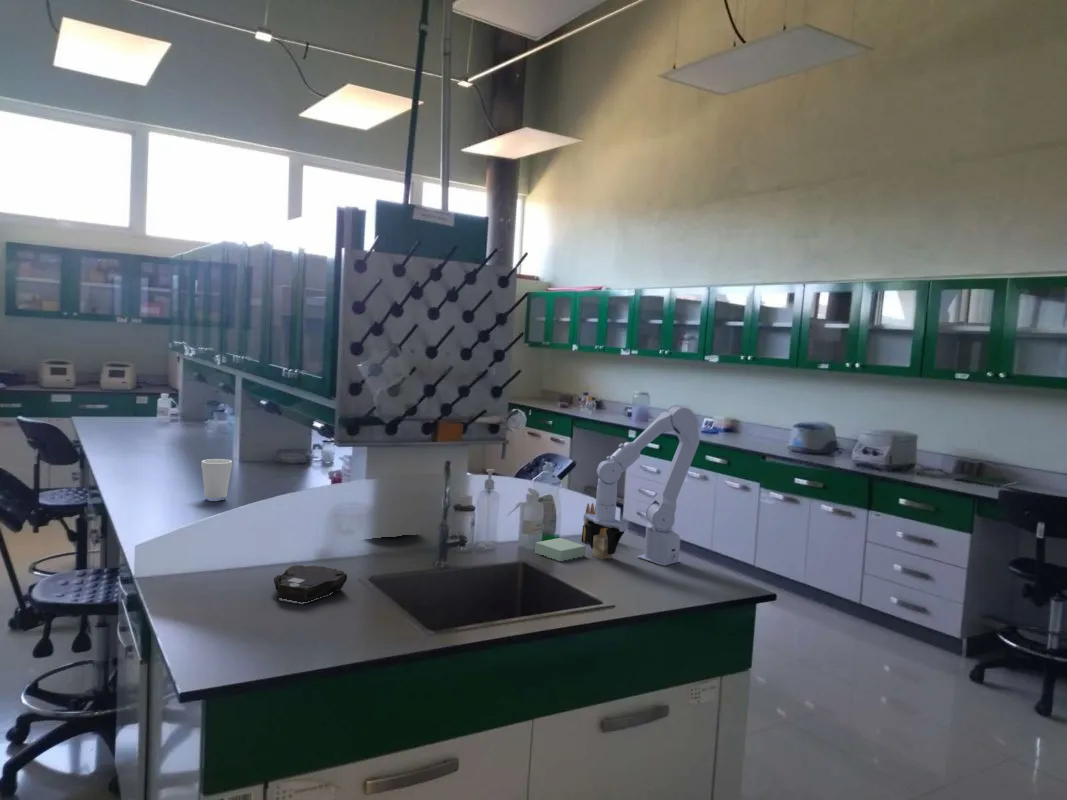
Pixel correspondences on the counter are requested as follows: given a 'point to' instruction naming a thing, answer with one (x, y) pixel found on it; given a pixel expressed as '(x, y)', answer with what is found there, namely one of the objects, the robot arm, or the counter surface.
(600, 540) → the beech block
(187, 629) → the counter surface
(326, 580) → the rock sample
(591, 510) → the ammunition clip
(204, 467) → the foam cup
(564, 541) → the sage base block
